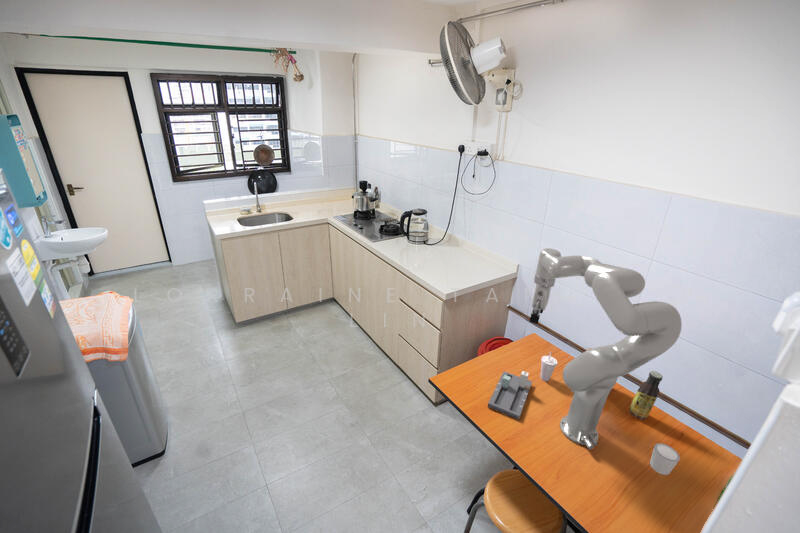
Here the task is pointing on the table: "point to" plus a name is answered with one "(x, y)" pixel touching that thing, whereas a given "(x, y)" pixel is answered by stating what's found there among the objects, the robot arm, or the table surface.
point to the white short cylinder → (664, 459)
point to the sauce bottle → (646, 396)
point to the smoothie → (547, 367)
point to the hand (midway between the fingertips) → (536, 317)
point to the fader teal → (505, 382)
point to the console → (510, 397)
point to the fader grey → (523, 380)
